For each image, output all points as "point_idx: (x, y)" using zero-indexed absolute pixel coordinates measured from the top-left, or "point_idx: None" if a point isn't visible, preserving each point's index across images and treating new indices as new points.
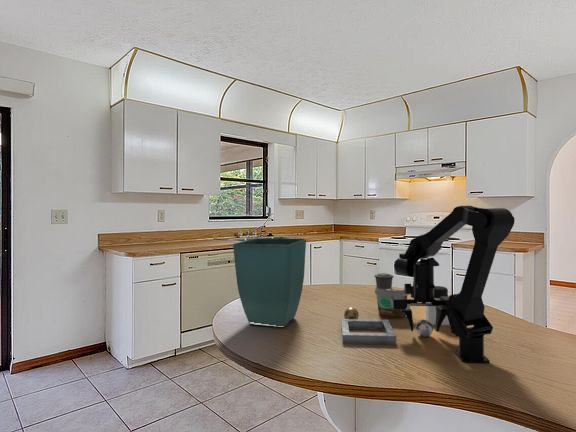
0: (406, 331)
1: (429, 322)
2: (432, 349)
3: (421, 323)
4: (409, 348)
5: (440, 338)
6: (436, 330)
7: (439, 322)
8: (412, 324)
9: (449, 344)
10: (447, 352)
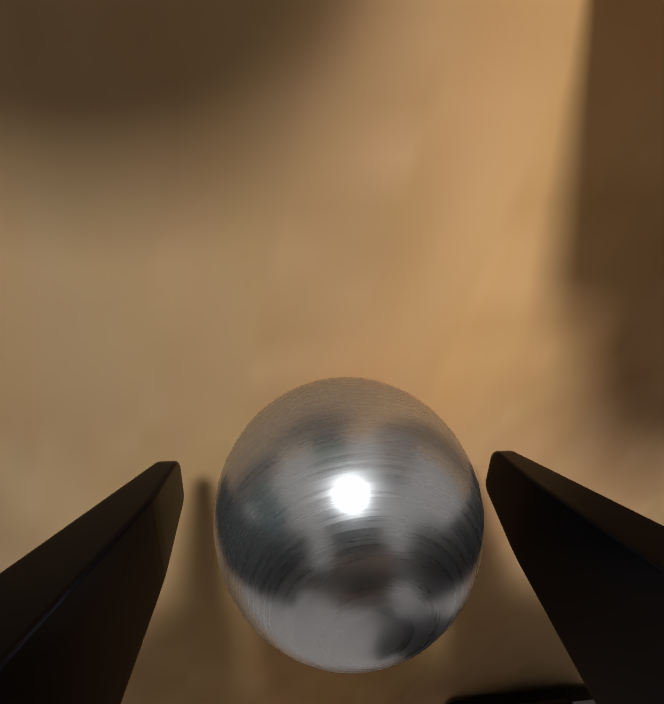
0: (133, 272)
1: (446, 629)
2: (314, 678)
3: (291, 657)
4: (134, 689)
5: (479, 473)
6: (494, 497)
7: (596, 680)
8: (130, 648)
9: (486, 586)
10: (401, 700)
